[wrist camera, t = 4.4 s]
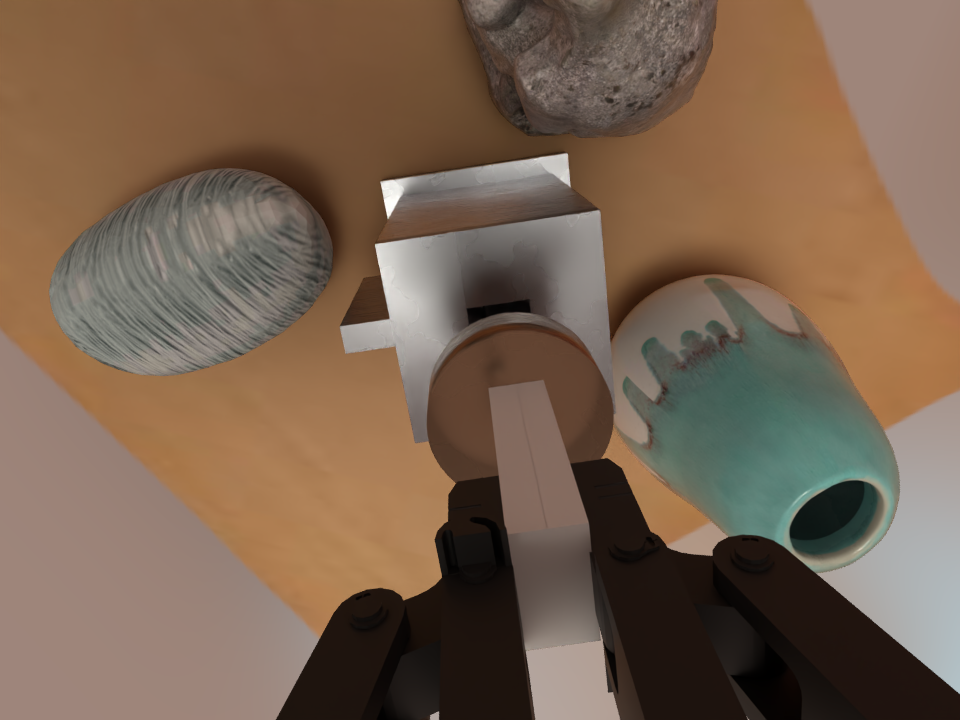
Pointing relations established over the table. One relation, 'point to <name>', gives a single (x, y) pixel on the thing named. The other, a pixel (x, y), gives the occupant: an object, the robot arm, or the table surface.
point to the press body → (480, 264)
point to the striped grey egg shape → (192, 273)
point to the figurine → (591, 61)
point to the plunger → (505, 361)
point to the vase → (753, 419)
